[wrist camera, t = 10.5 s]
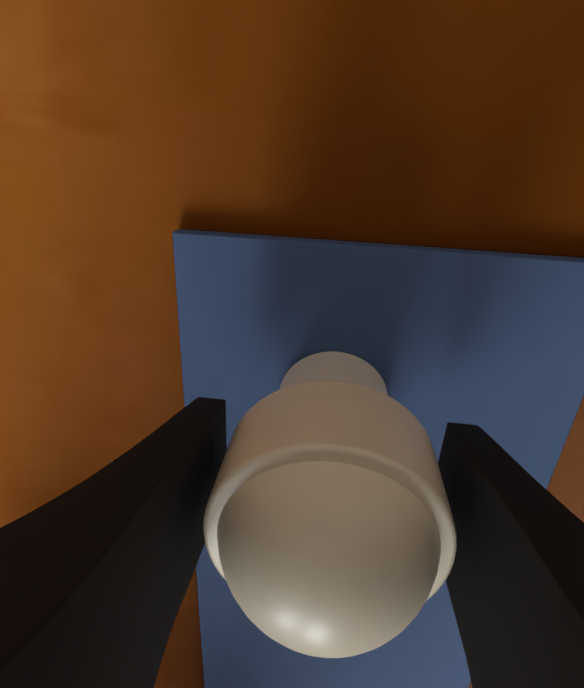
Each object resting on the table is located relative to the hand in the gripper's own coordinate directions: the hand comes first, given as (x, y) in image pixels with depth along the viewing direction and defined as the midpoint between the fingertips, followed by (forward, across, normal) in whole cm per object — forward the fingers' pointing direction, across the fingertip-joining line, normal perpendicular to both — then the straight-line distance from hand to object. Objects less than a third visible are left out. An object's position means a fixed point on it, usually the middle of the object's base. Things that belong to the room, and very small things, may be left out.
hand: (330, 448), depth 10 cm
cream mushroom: (+2, 0, 0) cm, 2 cm away
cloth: (+2, -1, +6) cm, 7 cm away
